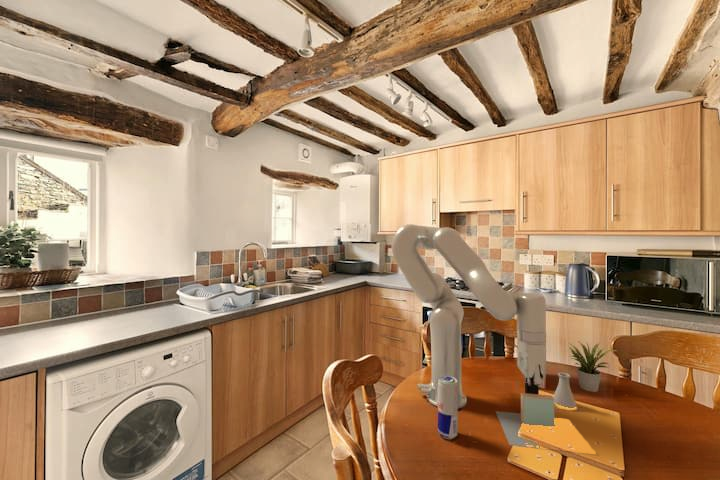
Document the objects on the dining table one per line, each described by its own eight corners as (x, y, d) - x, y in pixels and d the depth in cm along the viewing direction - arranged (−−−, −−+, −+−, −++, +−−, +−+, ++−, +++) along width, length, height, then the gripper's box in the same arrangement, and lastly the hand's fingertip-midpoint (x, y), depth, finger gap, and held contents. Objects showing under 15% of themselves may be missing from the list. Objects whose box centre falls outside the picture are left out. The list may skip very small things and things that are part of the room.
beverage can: (442, 426, 88) (442, 373, 88) (460, 433, 84) (460, 378, 84) (434, 435, 84) (434, 379, 84) (452, 443, 80) (452, 385, 80)
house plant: (613, 384, 113) (613, 339, 113) (624, 402, 100) (624, 351, 100) (566, 376, 119) (566, 333, 119) (571, 392, 107) (570, 344, 107)
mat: (509, 446, 79) (509, 444, 79) (495, 412, 95) (495, 411, 95) (599, 457, 75) (599, 455, 75) (568, 419, 91) (568, 418, 91)
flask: (583, 413, 94) (582, 380, 94) (556, 411, 95) (556, 378, 95) (571, 401, 101) (571, 370, 101) (547, 399, 102) (547, 368, 102)
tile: (523, 425, 87) (523, 396, 87) (520, 420, 90) (520, 392, 90) (554, 428, 86) (554, 399, 86) (551, 423, 88) (551, 395, 88)
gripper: (510, 328, 101) (510, 385, 100) (525, 343, 86) (526, 409, 86) (535, 329, 99) (536, 387, 99) (555, 344, 84) (556, 412, 84)
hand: (531, 397), depth 92 cm, fingers closed
